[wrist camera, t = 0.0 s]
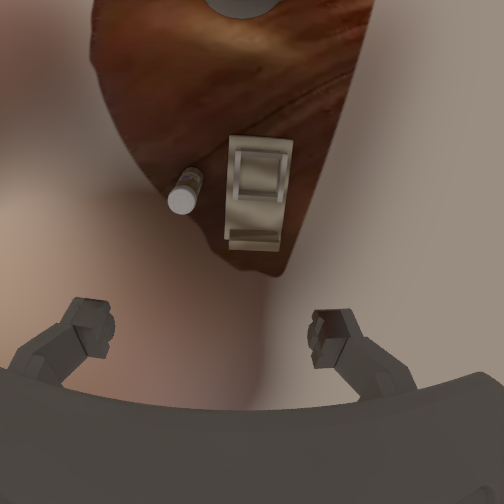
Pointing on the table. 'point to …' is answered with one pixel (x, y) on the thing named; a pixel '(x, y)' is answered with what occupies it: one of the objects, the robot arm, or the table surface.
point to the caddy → (256, 191)
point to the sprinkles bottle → (186, 191)
